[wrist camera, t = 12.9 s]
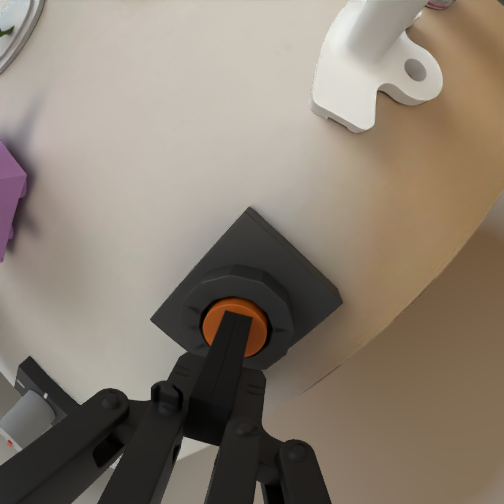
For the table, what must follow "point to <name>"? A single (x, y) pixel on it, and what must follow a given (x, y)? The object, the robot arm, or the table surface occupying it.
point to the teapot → (9, 194)
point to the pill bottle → (439, 3)
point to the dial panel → (44, 389)
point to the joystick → (372, 63)
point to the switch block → (251, 290)
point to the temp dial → (26, 420)
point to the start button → (240, 307)
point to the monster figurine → (17, 28)
